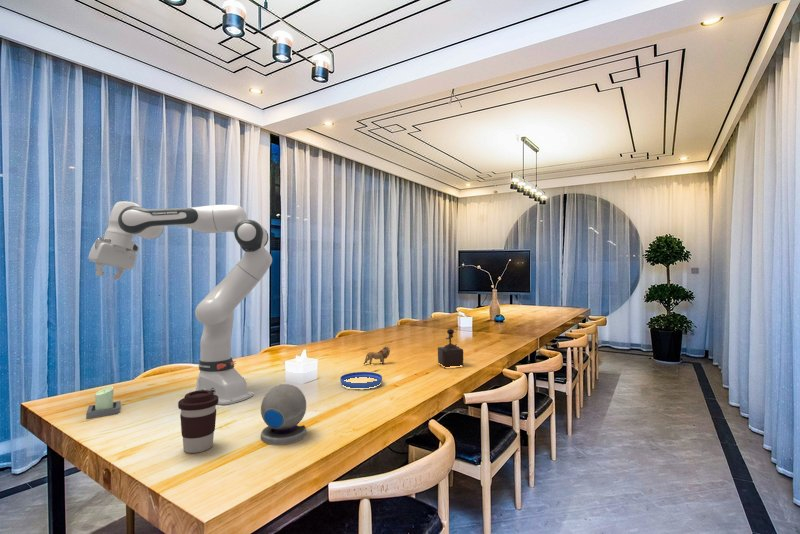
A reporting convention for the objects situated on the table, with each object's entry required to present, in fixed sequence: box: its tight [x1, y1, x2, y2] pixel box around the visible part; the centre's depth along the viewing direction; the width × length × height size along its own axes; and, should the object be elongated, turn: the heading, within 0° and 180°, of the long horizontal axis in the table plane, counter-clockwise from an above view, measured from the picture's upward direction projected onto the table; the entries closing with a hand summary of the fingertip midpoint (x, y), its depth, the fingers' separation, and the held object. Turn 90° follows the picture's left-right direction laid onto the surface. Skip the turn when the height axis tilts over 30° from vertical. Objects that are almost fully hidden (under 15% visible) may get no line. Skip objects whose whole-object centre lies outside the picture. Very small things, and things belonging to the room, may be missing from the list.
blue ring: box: [339, 371, 383, 388], centre depth 172 cm, size 18×18×4 cm
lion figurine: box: [363, 346, 391, 365], centre depth 209 cm, size 15×5×9 cm, turn 110°
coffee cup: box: [177, 390, 219, 454], centre depth 110 cm, size 10×10×15 cm
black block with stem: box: [437, 328, 464, 367], centre depth 208 cm, size 16×11×18 cm
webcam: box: [260, 383, 307, 446], centre depth 118 cm, size 13×13×15 cm
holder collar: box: [85, 400, 122, 420], centre depth 137 cm, size 9×9×2 cm
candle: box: [94, 386, 114, 411], centre depth 137 cm, size 5×5×8 cm
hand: (108, 277), depth 150 cm, fingers open, 8 cm apart
